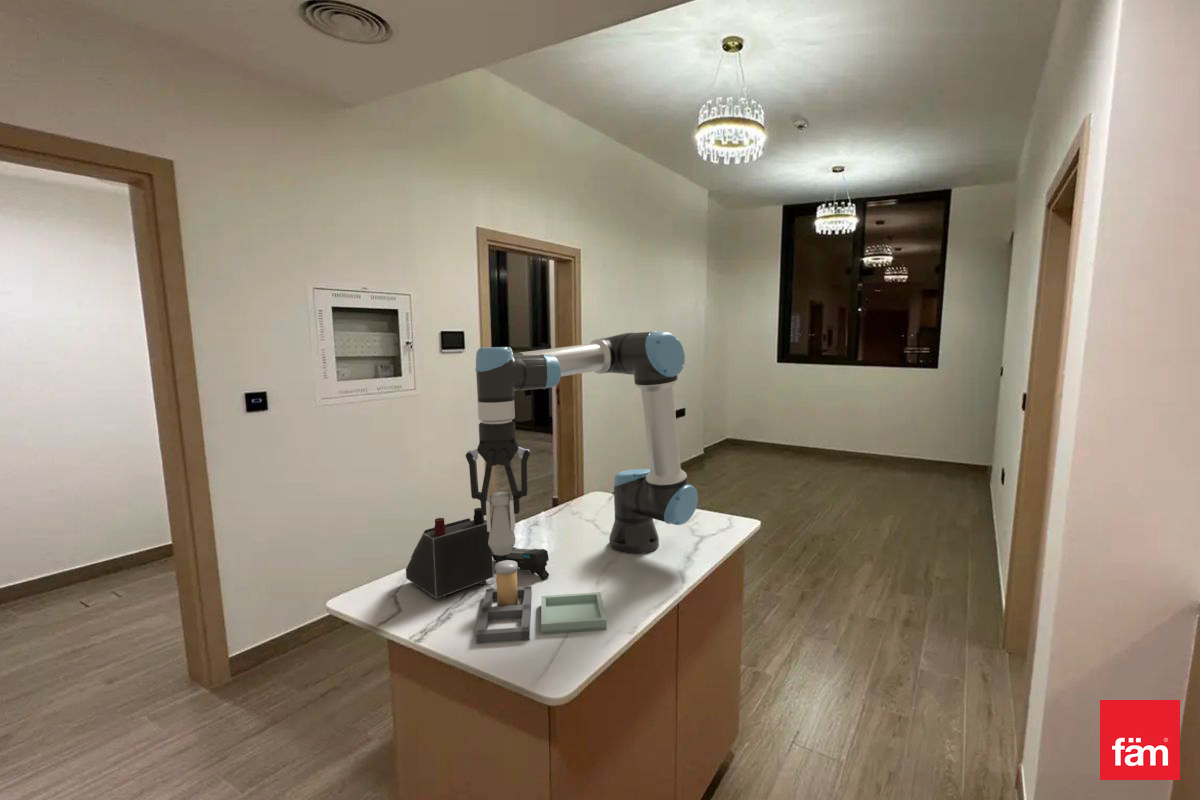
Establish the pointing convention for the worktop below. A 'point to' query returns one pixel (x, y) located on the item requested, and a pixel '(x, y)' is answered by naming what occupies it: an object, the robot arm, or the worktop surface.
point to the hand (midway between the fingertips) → (501, 528)
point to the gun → (528, 560)
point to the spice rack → (505, 607)
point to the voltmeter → (452, 556)
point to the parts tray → (572, 613)
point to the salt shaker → (501, 525)
